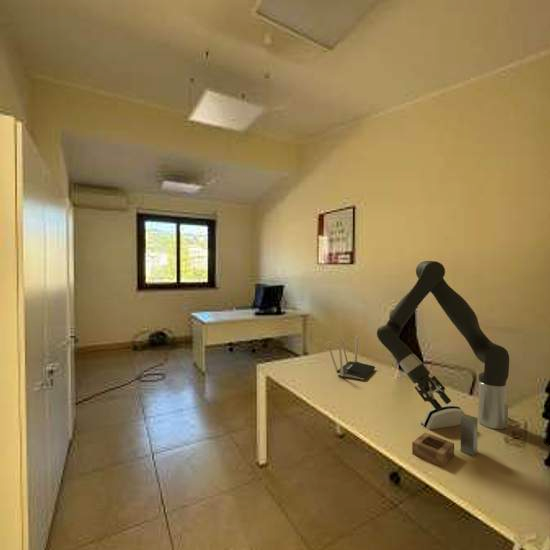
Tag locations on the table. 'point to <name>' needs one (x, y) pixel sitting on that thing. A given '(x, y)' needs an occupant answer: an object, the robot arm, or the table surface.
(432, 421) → the white rounded block
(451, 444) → the socket block
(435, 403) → the robot arm
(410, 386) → the table surface
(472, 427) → the square bit
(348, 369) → the wireless router
